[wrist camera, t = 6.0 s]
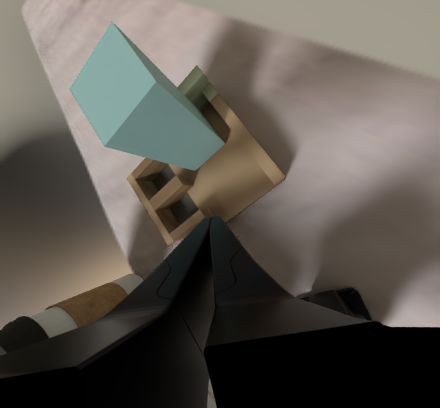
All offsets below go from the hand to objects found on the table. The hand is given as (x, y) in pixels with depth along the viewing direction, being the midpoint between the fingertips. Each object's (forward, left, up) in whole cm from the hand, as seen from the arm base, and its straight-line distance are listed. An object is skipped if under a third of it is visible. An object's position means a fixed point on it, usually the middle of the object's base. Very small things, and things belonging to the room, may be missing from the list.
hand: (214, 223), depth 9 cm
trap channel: (+7, +4, -13) cm, 15 cm away
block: (+10, +3, -12) cm, 16 cm away
